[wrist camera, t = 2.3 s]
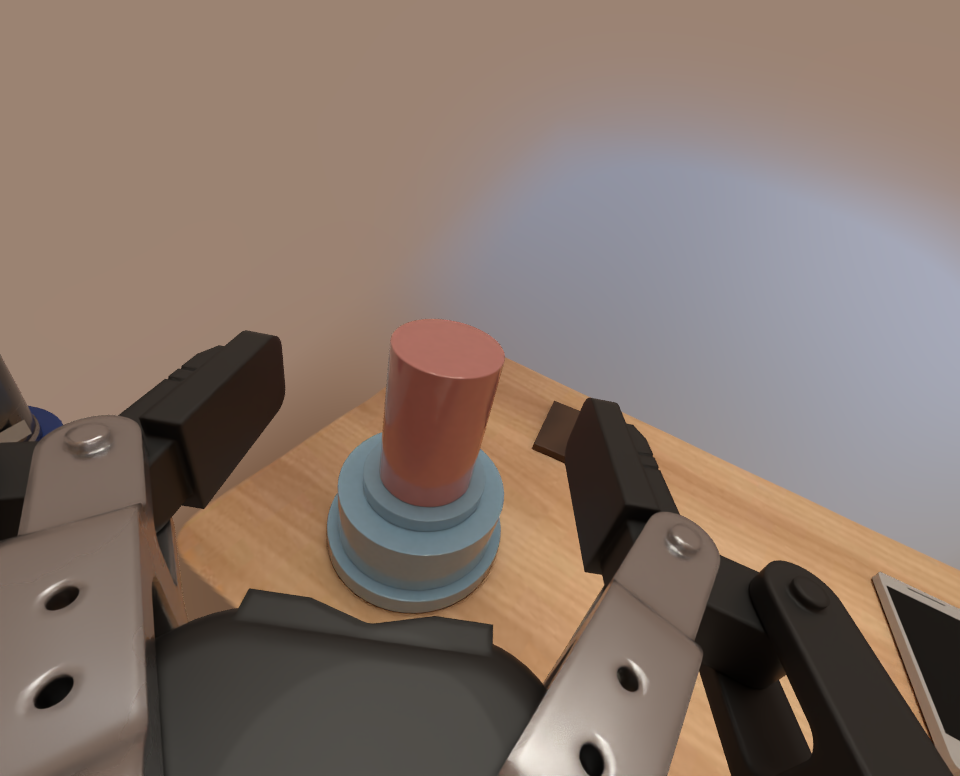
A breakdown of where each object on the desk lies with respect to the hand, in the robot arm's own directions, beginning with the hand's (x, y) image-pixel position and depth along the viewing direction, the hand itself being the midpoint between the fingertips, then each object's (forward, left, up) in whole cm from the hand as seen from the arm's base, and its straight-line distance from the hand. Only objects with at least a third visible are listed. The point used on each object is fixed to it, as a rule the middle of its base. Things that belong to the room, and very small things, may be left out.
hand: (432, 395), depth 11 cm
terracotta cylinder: (-4, +11, -15) cm, 18 cm away
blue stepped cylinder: (-4, +11, -21) cm, 24 cm away
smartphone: (+37, +19, -21) cm, 47 cm away
